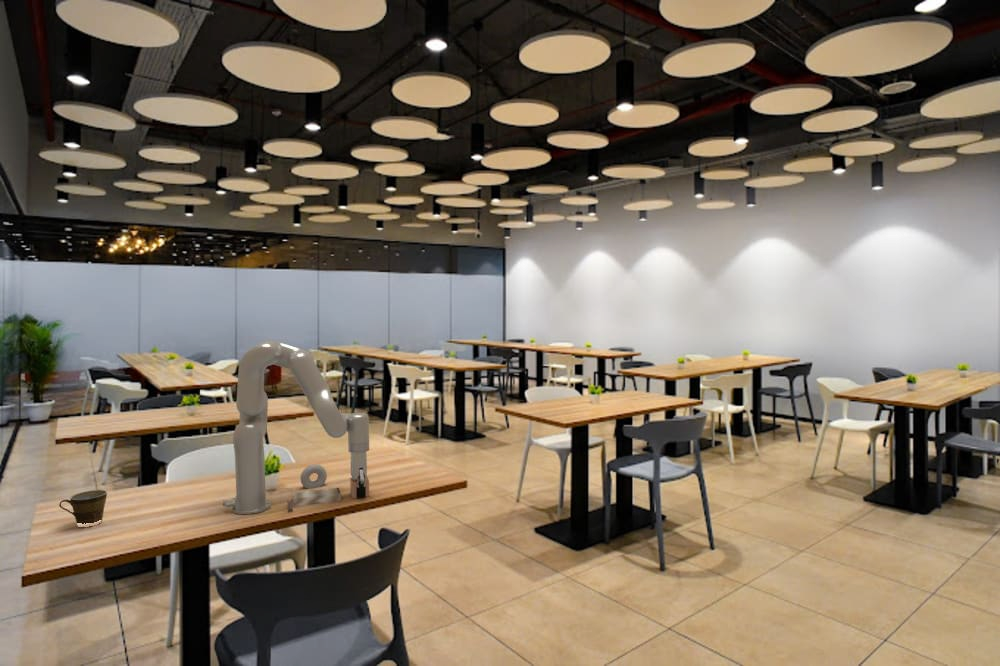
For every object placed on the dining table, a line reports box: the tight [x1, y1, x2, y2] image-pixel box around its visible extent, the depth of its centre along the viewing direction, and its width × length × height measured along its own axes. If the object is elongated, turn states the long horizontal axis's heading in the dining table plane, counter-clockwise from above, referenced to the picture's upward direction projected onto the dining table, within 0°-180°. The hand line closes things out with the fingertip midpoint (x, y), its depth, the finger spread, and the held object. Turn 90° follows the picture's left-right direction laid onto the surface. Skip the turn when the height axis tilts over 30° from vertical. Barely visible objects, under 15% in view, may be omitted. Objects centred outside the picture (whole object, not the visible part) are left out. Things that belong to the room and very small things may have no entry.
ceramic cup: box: [59, 489, 108, 524], centre depth 192 cm, size 13×10×10 cm
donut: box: [300, 463, 328, 489], centre depth 227 cm, size 10×4×10 cm, turn 121°
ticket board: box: [286, 487, 342, 513], centre depth 213 cm, size 36×10×4 cm, turn 111°
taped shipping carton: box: [349, 477, 370, 499], centre depth 215 cm, size 6×6×6 cm
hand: (359, 494), depth 216 cm, fingers closed on taped shipping carton, 6 cm apart
